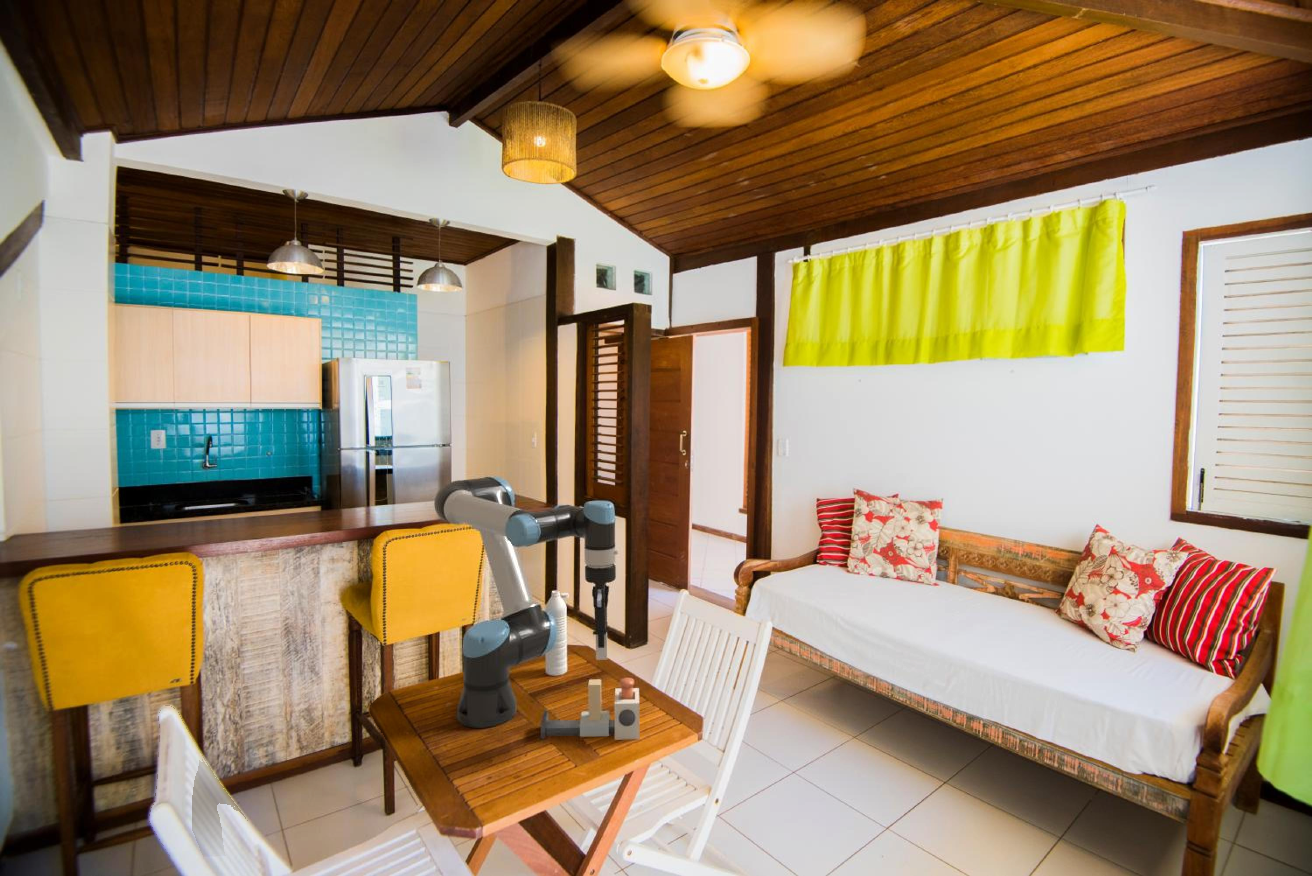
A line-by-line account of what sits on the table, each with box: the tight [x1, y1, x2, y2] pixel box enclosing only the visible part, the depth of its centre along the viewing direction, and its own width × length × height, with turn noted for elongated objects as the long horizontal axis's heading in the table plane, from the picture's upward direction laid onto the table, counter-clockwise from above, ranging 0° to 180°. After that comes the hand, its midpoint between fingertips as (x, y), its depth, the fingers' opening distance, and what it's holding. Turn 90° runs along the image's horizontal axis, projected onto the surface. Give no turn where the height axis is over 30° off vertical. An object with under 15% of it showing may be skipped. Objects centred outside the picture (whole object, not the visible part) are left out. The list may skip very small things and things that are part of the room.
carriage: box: [579, 678, 611, 738], centre depth 154 cm, size 7×7×12 cm
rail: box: [540, 710, 615, 740], centre depth 154 cm, size 19×6×4 cm, turn 92°
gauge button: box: [619, 677, 635, 700], centre depth 154 cm, size 4×4×6 cm
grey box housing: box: [614, 687, 640, 741], centre depth 154 cm, size 6×8×9 cm
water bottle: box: [544, 590, 570, 677], centre depth 187 cm, size 9×6×25 cm
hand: (601, 658), depth 153 cm, fingers closed
